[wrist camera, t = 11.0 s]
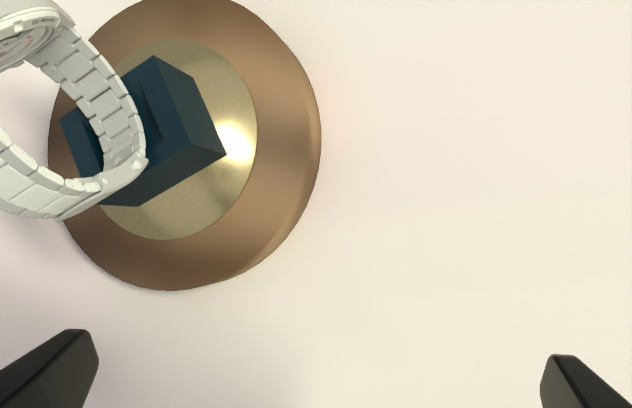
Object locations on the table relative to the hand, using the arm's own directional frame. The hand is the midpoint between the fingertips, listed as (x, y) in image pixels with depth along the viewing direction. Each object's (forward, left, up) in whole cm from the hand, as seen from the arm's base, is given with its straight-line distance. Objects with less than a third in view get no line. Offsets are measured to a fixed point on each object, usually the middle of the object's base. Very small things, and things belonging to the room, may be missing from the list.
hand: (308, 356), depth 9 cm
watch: (+6, +11, -11) cm, 17 cm away
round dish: (+6, +11, -13) cm, 18 cm away
